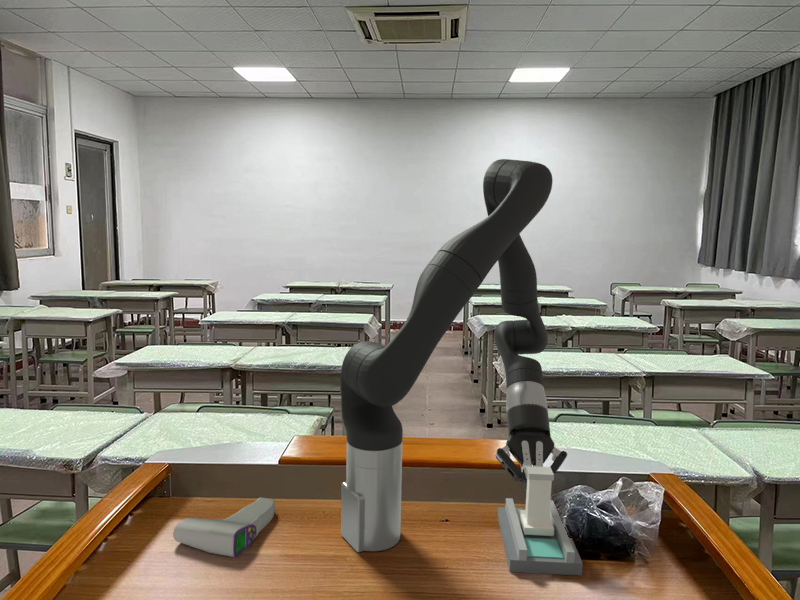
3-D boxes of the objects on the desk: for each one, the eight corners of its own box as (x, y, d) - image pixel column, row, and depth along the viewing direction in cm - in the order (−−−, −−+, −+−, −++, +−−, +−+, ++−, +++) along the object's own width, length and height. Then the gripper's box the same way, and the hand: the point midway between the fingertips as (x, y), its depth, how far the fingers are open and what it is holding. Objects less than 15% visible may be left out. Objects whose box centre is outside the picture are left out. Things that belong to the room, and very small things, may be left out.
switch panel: (581, 575, 88) (583, 552, 88) (509, 571, 89) (510, 549, 88) (558, 520, 104) (560, 500, 104) (497, 517, 105) (498, 497, 104)
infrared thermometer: (280, 519, 105) (238, 562, 90) (220, 510, 108) (170, 550, 93) (280, 495, 104) (238, 534, 90) (220, 486, 107) (170, 522, 93)
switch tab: (553, 535, 94) (557, 477, 93) (524, 534, 95) (527, 475, 93) (548, 521, 99) (551, 465, 97) (520, 520, 99) (523, 464, 97)
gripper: (493, 400, 105) (498, 496, 95) (567, 403, 105) (579, 500, 94) (489, 418, 111) (493, 510, 101) (558, 421, 111) (569, 513, 100)
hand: (535, 505), depth 98 cm, fingers closed
